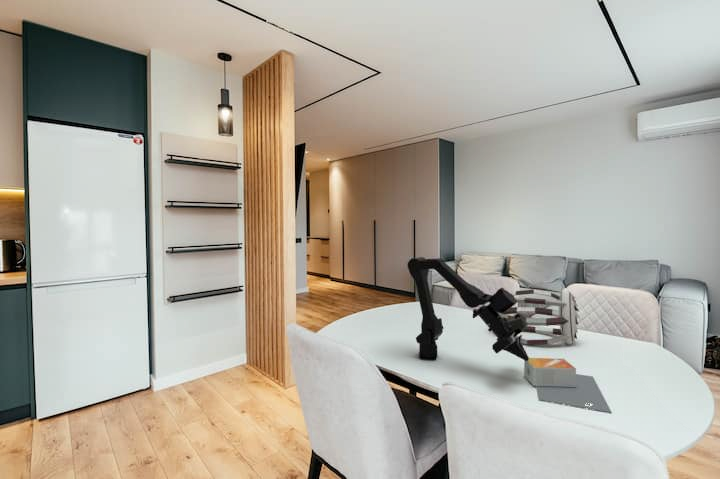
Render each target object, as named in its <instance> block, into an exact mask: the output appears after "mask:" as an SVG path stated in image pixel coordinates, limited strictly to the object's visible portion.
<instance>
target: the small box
mask: <svg viewBox="0 0 720 479" xmlns="http://www.w3.org/2000/svg"><path fill="white" fill-rule="evenodd" d="M523 365H524V367H523V375H524V377H525V378H526V379H527V380H528V381H529V383H530V384H532V386H533V387H536V386H552V387H576V374H577V368H576V367H575V366H574V365H572V364H571V363H569V361H567V360H566V359H565V358H552V357H551V358H549V357H529V360H527V361H525V360H524V362H523Z"/></svg>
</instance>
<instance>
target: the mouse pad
mask: <svg viewBox="0 0 720 479" xmlns="http://www.w3.org/2000/svg"><path fill="white" fill-rule="evenodd" d="M535 387H536V392H537V399H539V400H541V402H545V401H547V403H550V402H554V403H553V404H556V403H560V404H559V405H562V404H565V405H564V406H567V405H571V406H570V407H573V406H575V407H574V408H578V407H582V408H581V409H584V408H588V409H587V410H590V409H594V410H593V411H595V410H598V411H597V412H601V411H603V412H602V413H607V412H610V413H609V414H612V411H611V409H610V407H609V405H608V403H607V401H606V399H605V397H604V395H603V393H602V391H601V389H600V387H599V385H598V383H597V382H596V380H595V377H594V376H593V375H592V376H591V375H584V374H579V373H578V374H577V373H576V387H552V386H535ZM539 400H538V401H539ZM586 403H587V404H586ZM588 403H589V404H588ZM590 403H591V404H593V405H592V406H590ZM585 404H586V405H589V406H590V407H589V406H585Z"/></svg>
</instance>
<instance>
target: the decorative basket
mask: <svg viewBox="0 0 720 479" xmlns="http://www.w3.org/2000/svg"><path fill="white" fill-rule="evenodd" d="M509 293H510V294H512V295H513V296H514V297H515V296H523V295H531V294H535V295H540V296H545V297H550V298H553V299H545V298H535V297H534V298H533V297H532V298H531V297H515V299H516V301H517V303H516V304H519V303H520V304H532V305H533V304H534V305H545V306H555V307H558V310H556V309H554V308H545V307H544V308H543V307H537V306H532V307H531V306H512V307H511V308H510V309H508V310H507V311H506V312H504V313H501V312H499V314H500V316H501V317H502V318H504V317H506V318H507V319H508V320H510V319H512V318H514V315H515V314H518V313H520V314H529V315H532V314H534V315H535V314H536V315H543V316H549V317H548V318H546V317H545V318H544V317H543V318H542V317H539V318H538V317H526V322H527V324H528V325H527V326H526V327H525V328H524V329H525V330H524V331H523V332H525V333H535V334H545V335H555V337H551V338H548V339H545V338H543V339H525V338H521V343H522V345H527V346H542V345H544V346H545V345H546V346H547V345H548V346H549V345H552V344H555V343H560V342H563V341H564V343H566V344H567V345H571V344H572V343H573V344H576V340H578V336H577V334H579V331H578V327H577V326H579V322H578V319H579V318H580V316H579V314H578V313H577V312H580V311H579V309H578V307H579V305H578V303H577V301H576V300H575V299H576V297H575V295H573V293H572V292H571V291H570V290H569V289H568V288H567V287H565V288H563V289H562V291H561V292H560V296H559V295H557V294H556V293H553V292H550V291H544V290H539V289H526V290H525V289H524V290H515V291H511V292H509ZM554 299H556V300H554ZM500 316H499V317H500ZM545 326H546V327H545ZM549 326H559V328H552V327H549ZM523 332H522V333H523ZM575 339H576V340H575Z"/></svg>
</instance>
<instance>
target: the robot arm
mask: <svg viewBox="0 0 720 479" xmlns="http://www.w3.org/2000/svg"><path fill="white" fill-rule="evenodd" d="M407 270H408V273H409V274H410V276H411V278H412V279H413V281H414V283H415V287H416V292H417V296H418V300H419V306H420V310H421V314H422V315H421V316H422V319H421V324H420V327H421V332H420V334H418V335H417V336H416V337H415V340H416V341H415V342H416V343H417V344H418V345H419V346H418V347H419V349H418V350H419V352H418V358H419V360H426V361H427V360H430V361H436V360H437V358H438V344H437V342H436V341H437V340H439V337H441V336H442V334H443V331H444V330H443V329H444V328H445V327H444V326H443V320H442V317H439V318H438V316H437V315H436V313H435V310H434V304H433V301H432V295H431V290H430V286H429V282H428V276H429V270H434V271H436V272H437V273H438V274H439V275H440V276H441V277H442V278H443V279H444V280H446V282H448V284H449V285H451V287H452V288H454V289H455V290H456V292H458V294H459V297H460V298H461V301H462V302H464V304H465V305H466V306H467V307H468V308H471V309H473V308H474V309H473V310H472V318H473V319H475V318H477V317H479V318H480V319H481V320H482V321H483V322H484V324H485V325H486V326H487V327H488V329H487V330H488V332H489V333H493V334H494V336H495V337H496V341H495V342H494V343H493V344H492V346H491V349H492V350H493V352H495V354H497V355H498V353H500V352H502V350H503V351H506V352H508V353H509V354H512V355H514V356H516V357H517V358H519V359H522V360H525V361H527V360H529V358H530V357H529V355H528V353H527V352H526V349H525V347H524V344H522V343H521V338H522V337H523V335H522V334H521V333H523V331H524V330H525V329H524V328H525V327H526V326H529V325H528V324H527V322H526V318H527V317H525V315H522V313H516V314H513V316H514V318H512V319H510V320H508V319H507V318H506V317H504V318H502V317H501V316H500V314H499V312H501V313H504V312H506V311H507V310H508V309H510V308H511V307H515V305H516V304H518V303H517V301H516V299H515V298H516V297H515V296H513V295H512V294H510V293H511V292H509V291H508V290H505V288H504V287H500V288H498V289H497V291H496V292H494V293H493V295H492V294H489V293H485V292H484V291H483V290H482V289H480V288H478V287H477V286H475V285H473V284H471V283H469V282H467V281H466V280H465V279H464V278H463V277H461V275H460V274H458V273H457V272H456V271H455V270H454V269H452V267H451V266H449V265H448V264H447V263H446V262H445V261H444V259H443V258H440V257H437V258H425V257H423V256H418V257H413V258H412V257H411V258H410V259H409V260H408V262H407ZM486 304H488V305H486ZM478 307H479V308H478ZM475 308H476V309H475ZM477 308H478V309H477ZM499 316H500V317H499ZM522 339H523V338H522Z"/></svg>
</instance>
